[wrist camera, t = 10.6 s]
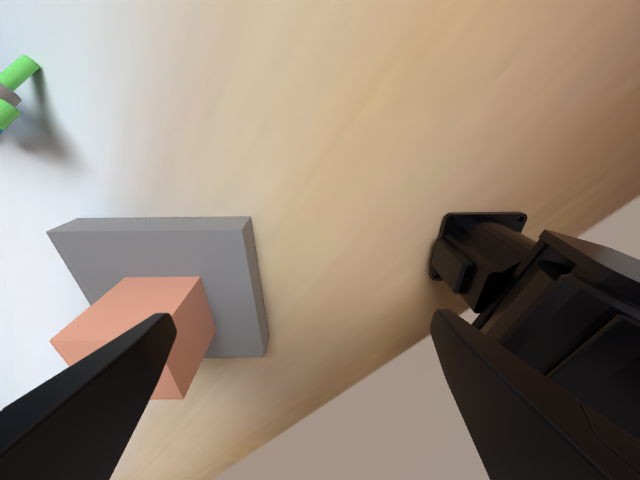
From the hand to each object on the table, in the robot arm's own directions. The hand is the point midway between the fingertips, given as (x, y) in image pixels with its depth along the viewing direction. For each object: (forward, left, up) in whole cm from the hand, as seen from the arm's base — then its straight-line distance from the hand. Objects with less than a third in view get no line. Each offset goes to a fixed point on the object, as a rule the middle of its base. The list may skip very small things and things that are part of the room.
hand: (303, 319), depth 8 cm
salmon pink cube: (+12, +8, -10) cm, 17 cm away
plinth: (+12, +8, -12) cm, 19 cm away
